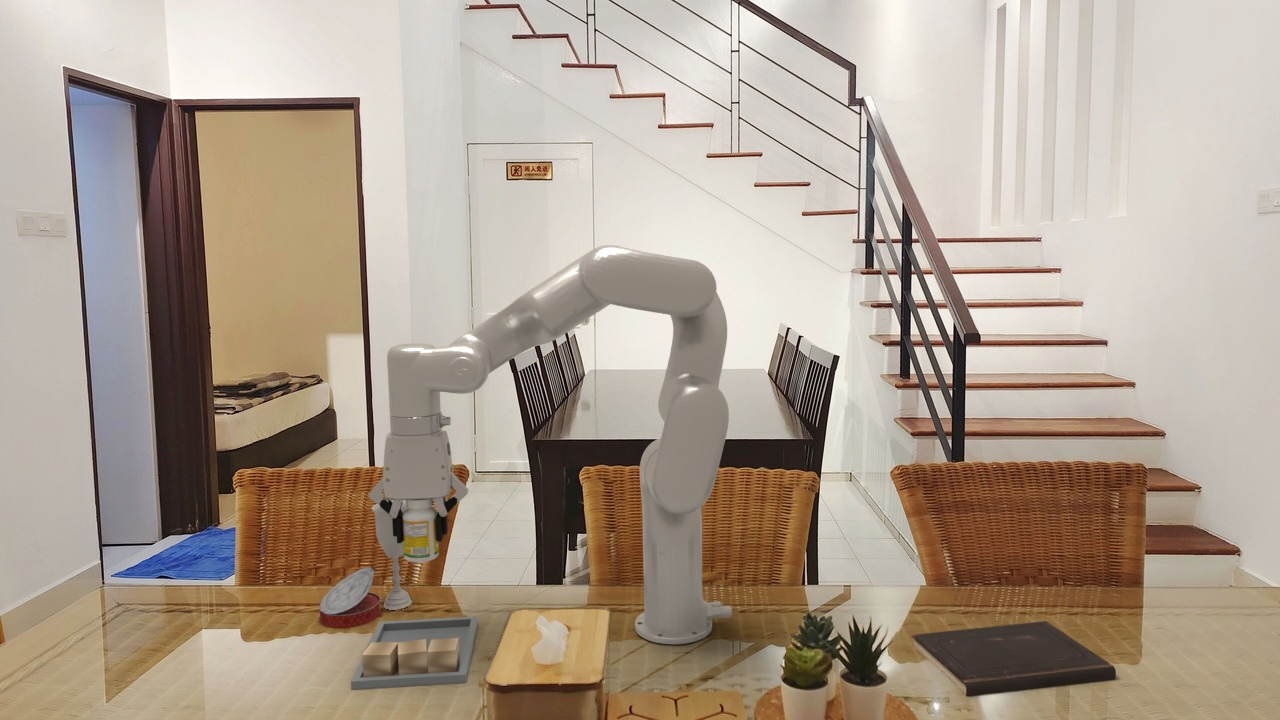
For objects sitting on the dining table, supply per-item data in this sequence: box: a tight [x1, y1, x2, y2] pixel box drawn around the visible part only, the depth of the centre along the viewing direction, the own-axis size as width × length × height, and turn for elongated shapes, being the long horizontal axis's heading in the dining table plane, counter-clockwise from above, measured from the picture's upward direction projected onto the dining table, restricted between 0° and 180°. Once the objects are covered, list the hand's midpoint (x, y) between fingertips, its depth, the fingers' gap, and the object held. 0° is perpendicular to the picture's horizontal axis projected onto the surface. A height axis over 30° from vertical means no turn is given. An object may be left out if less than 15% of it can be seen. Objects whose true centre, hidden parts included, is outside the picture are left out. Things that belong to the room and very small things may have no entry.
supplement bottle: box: [402, 499, 440, 563], centre depth 136 cm, size 5×5×10 cm
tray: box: [350, 615, 479, 691], centre depth 135 cm, size 16×20×2 cm
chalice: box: [371, 499, 413, 611], centre depth 154 cm, size 7×7×18 cm
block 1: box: [361, 642, 399, 677], centre depth 129 cm, size 4×4×4 cm
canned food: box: [318, 566, 382, 629], centre depth 150 cm, size 11×10×10 cm
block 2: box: [398, 639, 428, 675], centre depth 129 cm, size 4×4×4 cm
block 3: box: [427, 638, 460, 673], centre depth 130 cm, size 4×4×4 cm
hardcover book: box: [911, 620, 1117, 697], centre depth 131 cm, size 16×23×2 cm
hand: (420, 538), depth 136 cm, fingers closed on supplement bottle, 5 cm apart
